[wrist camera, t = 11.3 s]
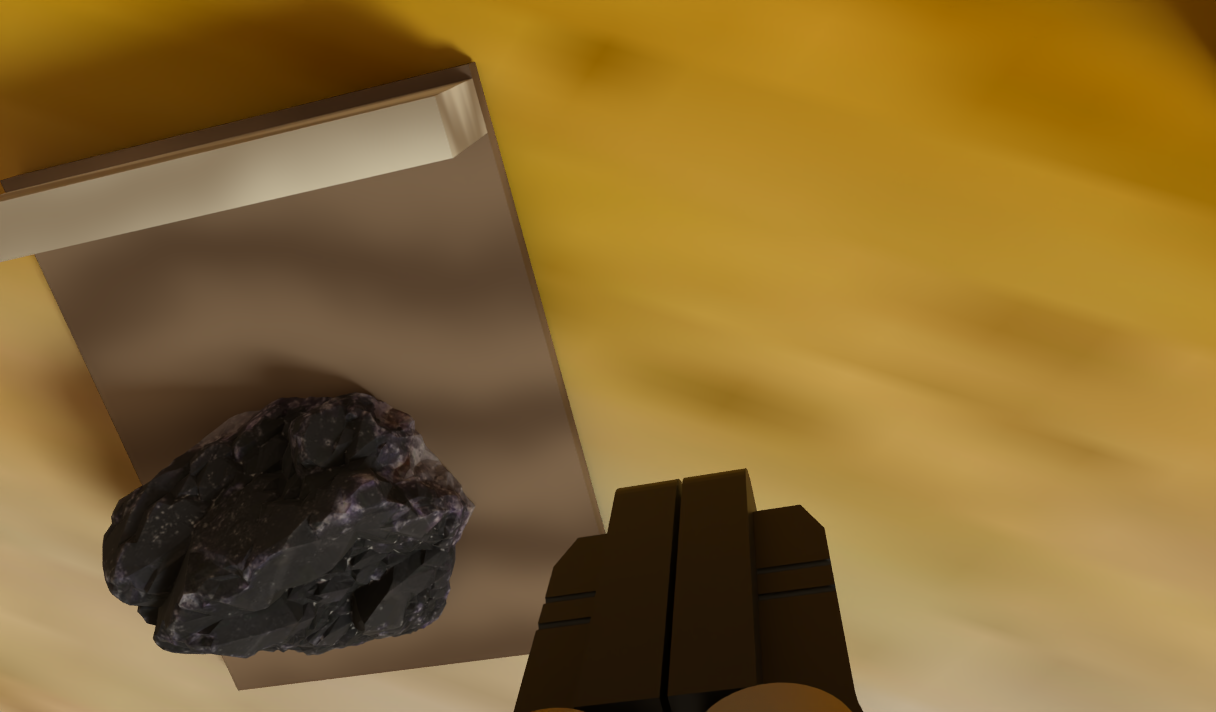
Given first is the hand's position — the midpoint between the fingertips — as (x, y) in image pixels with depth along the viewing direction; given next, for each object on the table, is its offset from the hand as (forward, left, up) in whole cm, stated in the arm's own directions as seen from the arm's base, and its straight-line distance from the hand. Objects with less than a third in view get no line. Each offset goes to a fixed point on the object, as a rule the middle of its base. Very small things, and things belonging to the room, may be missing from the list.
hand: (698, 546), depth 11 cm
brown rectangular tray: (+8, -18, -27) cm, 33 cm away
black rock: (+12, -20, -27) cm, 36 cm away
